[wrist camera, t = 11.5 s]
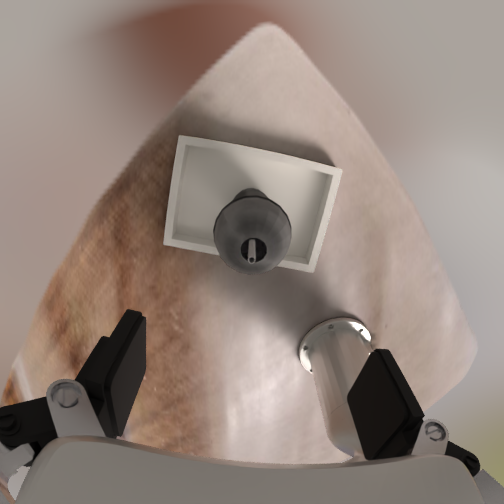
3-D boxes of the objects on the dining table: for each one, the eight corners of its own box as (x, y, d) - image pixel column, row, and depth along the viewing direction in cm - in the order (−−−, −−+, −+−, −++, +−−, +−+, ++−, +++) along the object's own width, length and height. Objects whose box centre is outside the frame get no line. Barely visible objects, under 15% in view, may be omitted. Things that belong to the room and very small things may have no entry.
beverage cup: (229, 236, 40) (216, 329, 21) (216, 183, 37) (187, 236, 18) (283, 226, 39) (315, 310, 21) (273, 172, 37) (302, 212, 18)
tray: (335, 167, 37) (342, 169, 34) (309, 263, 42) (313, 272, 39) (184, 135, 35) (179, 135, 32) (168, 237, 40) (163, 244, 37)
